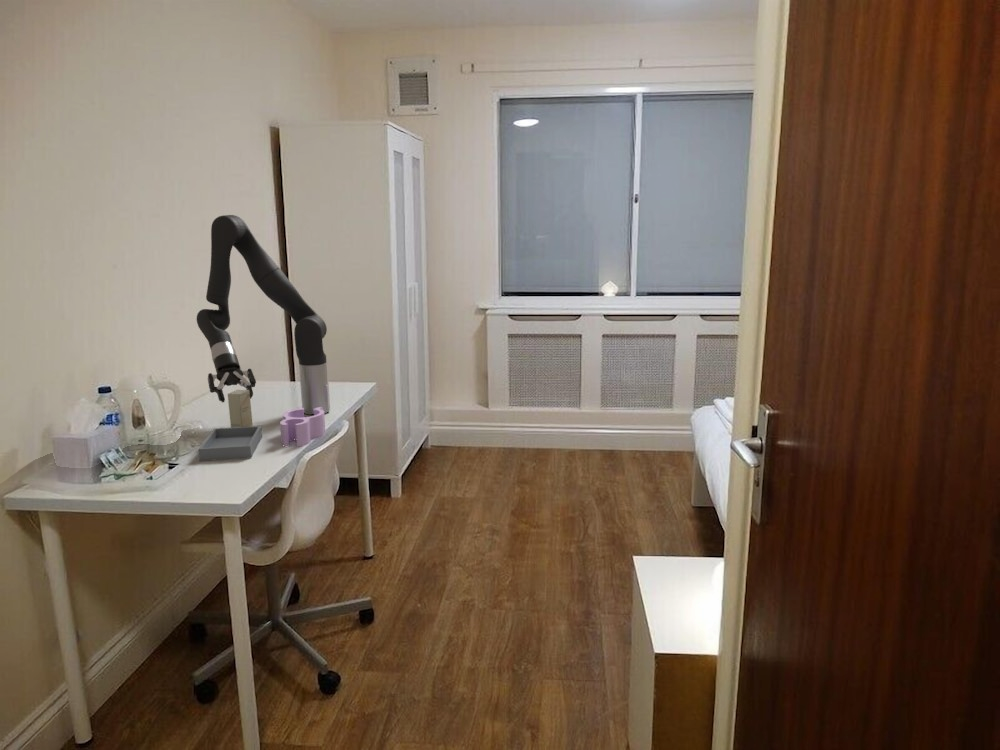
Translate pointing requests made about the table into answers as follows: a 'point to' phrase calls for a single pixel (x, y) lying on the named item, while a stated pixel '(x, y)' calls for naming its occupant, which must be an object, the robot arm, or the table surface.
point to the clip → (302, 426)
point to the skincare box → (240, 408)
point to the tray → (230, 443)
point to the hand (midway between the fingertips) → (237, 399)
